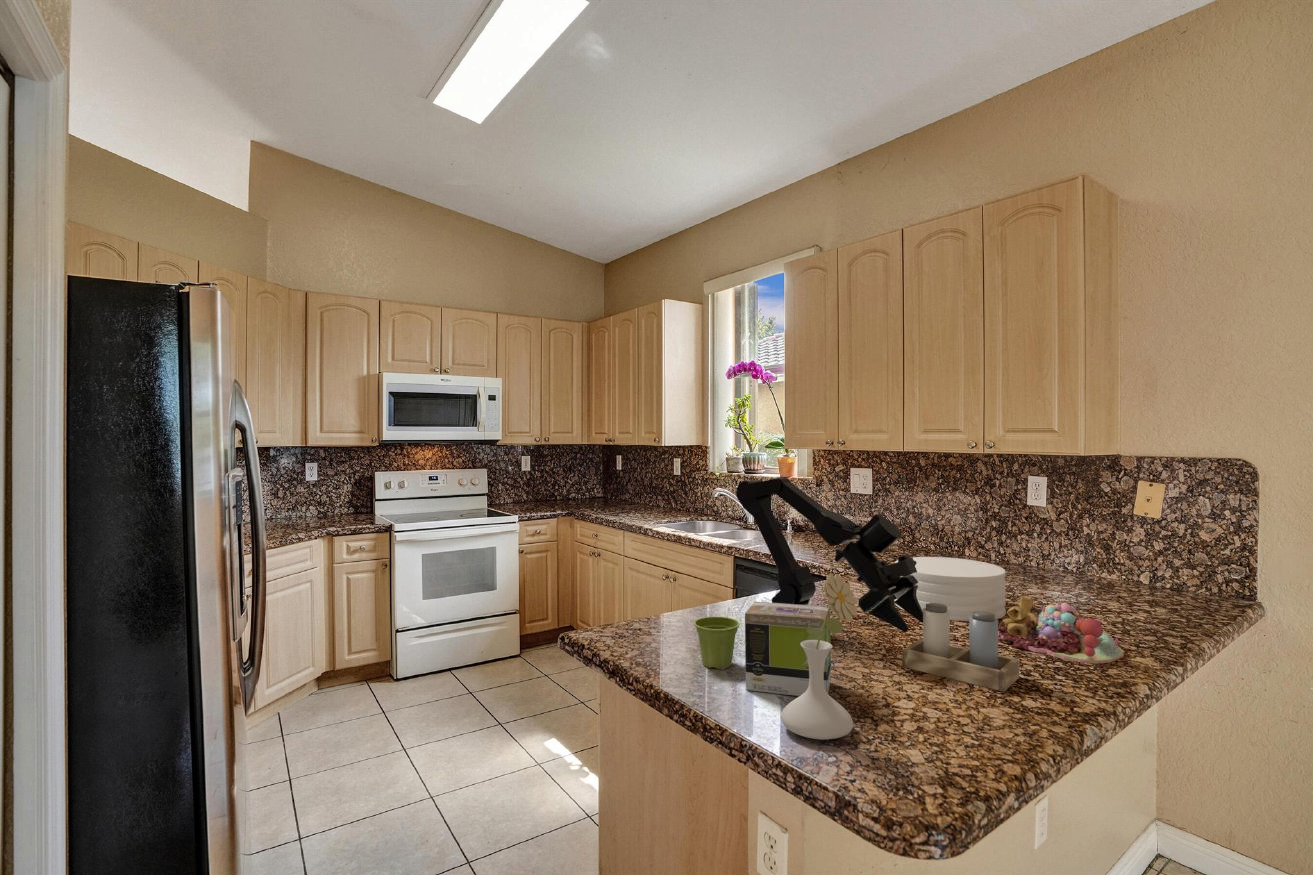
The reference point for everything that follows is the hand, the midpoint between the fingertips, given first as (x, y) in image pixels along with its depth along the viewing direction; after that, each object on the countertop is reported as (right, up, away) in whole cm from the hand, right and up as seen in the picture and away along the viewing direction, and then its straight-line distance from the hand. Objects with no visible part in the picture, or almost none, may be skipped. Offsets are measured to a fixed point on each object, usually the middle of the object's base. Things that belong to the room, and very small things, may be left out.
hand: (916, 626), depth 135 cm
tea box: (-30, -8, -13) cm, 33 cm away
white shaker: (+3, -7, -3) cm, 8 cm away
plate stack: (+27, -8, +44) cm, 52 cm away
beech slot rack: (+6, -7, -6) cm, 11 cm away
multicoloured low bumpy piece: (+37, -8, +12) cm, 40 cm away
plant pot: (-42, -8, -1) cm, 43 cm away
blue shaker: (+10, -7, -9) cm, 15 cm away
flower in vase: (-28, -8, -31) cm, 43 cm away
